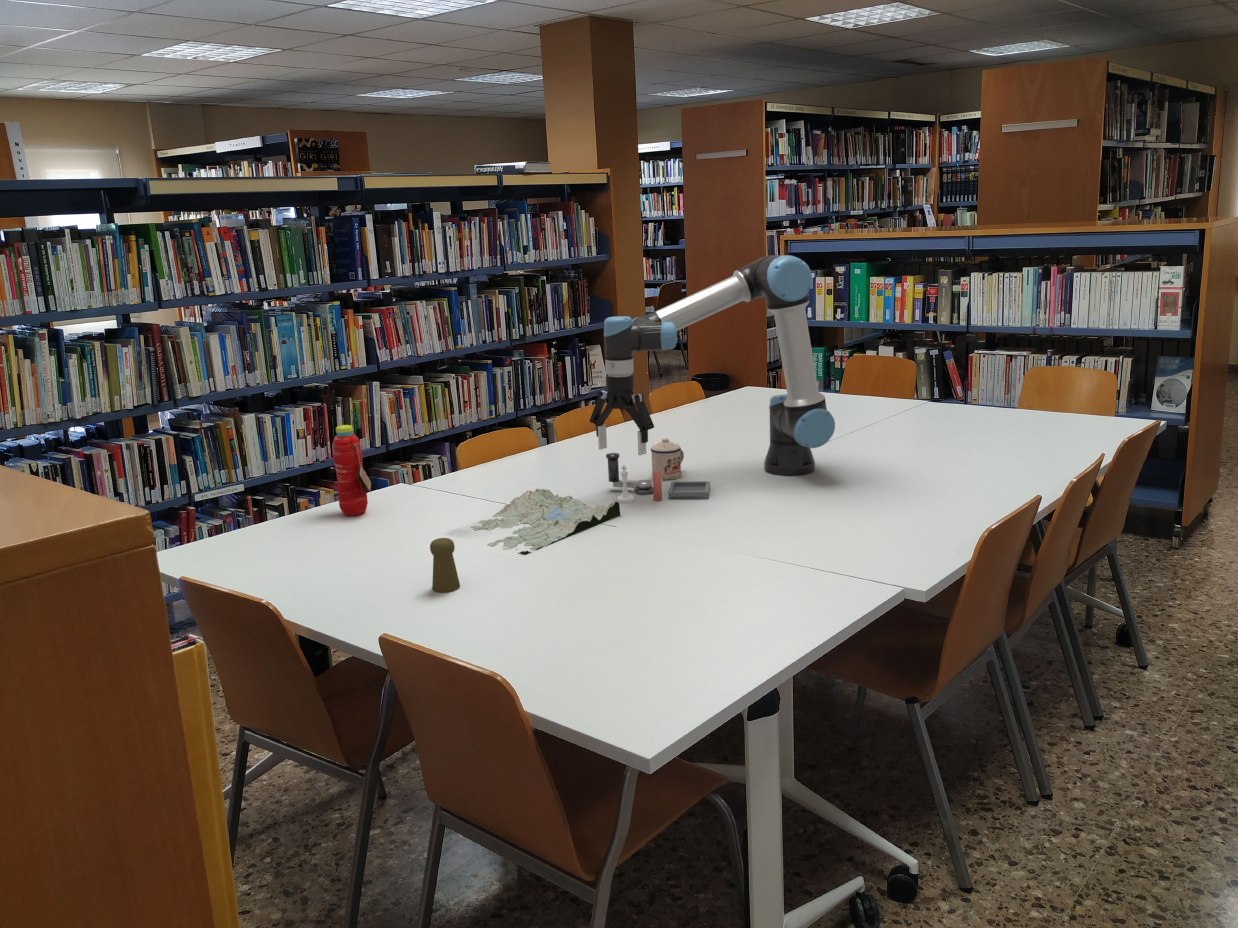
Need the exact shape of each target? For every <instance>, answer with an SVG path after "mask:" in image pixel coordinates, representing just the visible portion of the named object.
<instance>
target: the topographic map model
mask: <svg viewBox="0 0 1238 928" xmlns="http://www.w3.org/2000/svg"><path fill="white" fill-rule="evenodd" d="M621 516H622V515H621V506H620V502H618V501H617V500H616V501H613V502H611V503H610V504H609V505H608V506H607V505H605V506H604V505H599V504H596V505H595V506H593V507H591V506H590V505H588V504H586V503H585V502H582V501H581V500H579V499H577V498H574V497H572V496H571V495H567V496H566V495H565V496H559V494H556V495H554V493H553V492H552V491H551V490H550V489H546V488H536V489H535V490H534V491H533V490H526V491H525V492H523V493H522V494H521V495H520V496H517V497H514V498H513V499H512V500H511V501H510V503H509V504H505V505H504V507H503V508H502V509H500V511H498V512H496V513H494V514H493V515H492V518H495V519H488V520H486V519H483V520H482V519H481V520H479V524H481V525H477V526H476V525H473V526H470V527H469V528H470V529H472V530H474V531H476V532H477V531H493V530H495V529H496V528H500V530H502V529H512V528H513V527H518V526H519V525H524V526H523V527H521V528H517V530H513V532H511V534H513V535H509V536H506V537H503V539H497V540H495V541H493V542H490V543H487V544H486V546H489V547H493V548H494V547H496V546H497V545H499V543H503V545H502V547H503V548H502V550H504V551H505V550H506V551H507V550H512V549H515V548H517V546H518V545H523V546H524V547H529V550H530V551H529V550H522V551H520V552H518V554H520V555H524V556H526V555H529V554H531V553H533V552H536V551H538V550H540V549H543V548H545V547H548V546H550V545H553V544H555V543H558V542H560V541H562V540H565V539H568V538H570V537H572V536H574V535H578V534H579V533H581V532H584V531H587V530H589V529H591V528H593V527H596V526H598V525H601V524H604V523H606V522H608V521H610V520H613V519H615V518H619V517H621ZM498 517H500V519H498ZM527 525H529V526H527ZM516 535H518V536H516ZM515 551H519V549H518V548H517V549H515Z"/></svg>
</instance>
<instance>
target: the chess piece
mask: <svg viewBox="0 0 1238 928" xmlns="http://www.w3.org/2000/svg"><path fill="white" fill-rule="evenodd" d="M620 469H621V470H622V471H621V472H620V475H621V478H622V479H620V480H621V482H623V487H622V493H621V495H618V496H617V497H616V501H617V502H619V503H622V504H623V503H631V502H634V501H635V496H634V495H630V493H629V490H628V488H627V483H626V482H628V480H629V479H627V478H628V474H629V472H628V471H627V470H628V467H626V465H625V464H624V465H622V466H621V468H620Z"/></svg>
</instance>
